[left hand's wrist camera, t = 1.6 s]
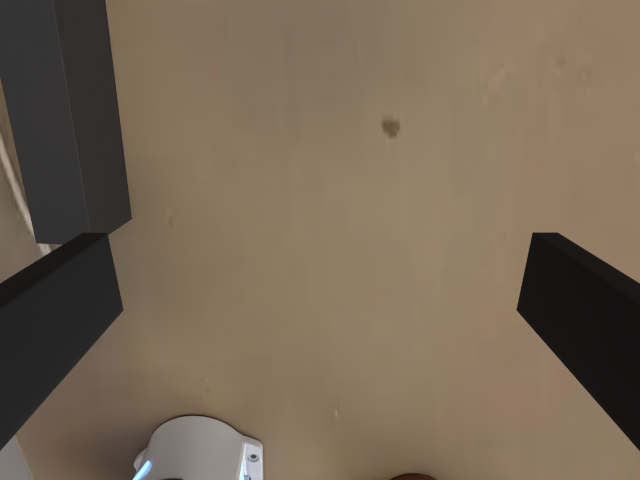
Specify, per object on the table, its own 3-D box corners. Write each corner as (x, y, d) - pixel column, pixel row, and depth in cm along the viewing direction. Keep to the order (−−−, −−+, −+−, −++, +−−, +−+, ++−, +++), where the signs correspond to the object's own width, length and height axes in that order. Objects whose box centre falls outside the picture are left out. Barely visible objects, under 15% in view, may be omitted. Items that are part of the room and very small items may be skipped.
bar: (36, -81, 35) (-45, -131, 27) (95, -77, 35) (32, -126, 28) (85, 216, 45) (36, 243, 37) (131, 219, 45) (92, 245, 37)
